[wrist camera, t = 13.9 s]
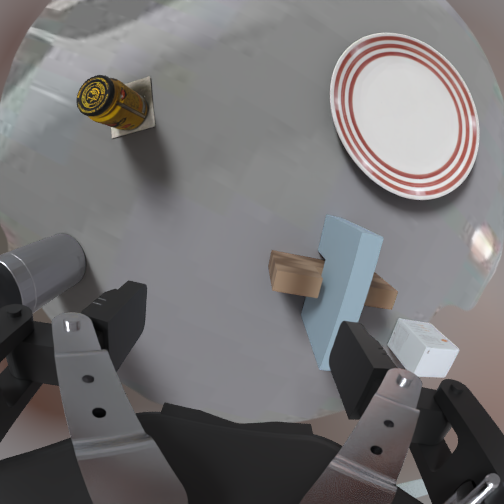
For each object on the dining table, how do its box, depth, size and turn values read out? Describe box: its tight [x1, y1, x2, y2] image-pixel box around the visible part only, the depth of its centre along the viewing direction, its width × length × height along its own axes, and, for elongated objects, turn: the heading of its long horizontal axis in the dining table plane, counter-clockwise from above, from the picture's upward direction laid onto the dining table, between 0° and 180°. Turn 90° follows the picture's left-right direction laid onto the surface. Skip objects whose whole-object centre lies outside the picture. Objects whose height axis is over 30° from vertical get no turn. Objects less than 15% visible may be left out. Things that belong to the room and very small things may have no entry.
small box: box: [387, 318, 459, 377], centre depth 42 cm, size 8×6×10 cm
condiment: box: [77, 75, 155, 138], centre depth 33 cm, size 7×8×12 cm
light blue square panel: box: [301, 214, 384, 371], centre depth 37 cm, size 2×16×15 cm, turn 169°
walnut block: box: [268, 250, 398, 310], centre depth 40 cm, size 16×2×10 cm, turn 79°
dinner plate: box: [330, 33, 479, 200], centre depth 37 cm, size 28×27×3 cm
